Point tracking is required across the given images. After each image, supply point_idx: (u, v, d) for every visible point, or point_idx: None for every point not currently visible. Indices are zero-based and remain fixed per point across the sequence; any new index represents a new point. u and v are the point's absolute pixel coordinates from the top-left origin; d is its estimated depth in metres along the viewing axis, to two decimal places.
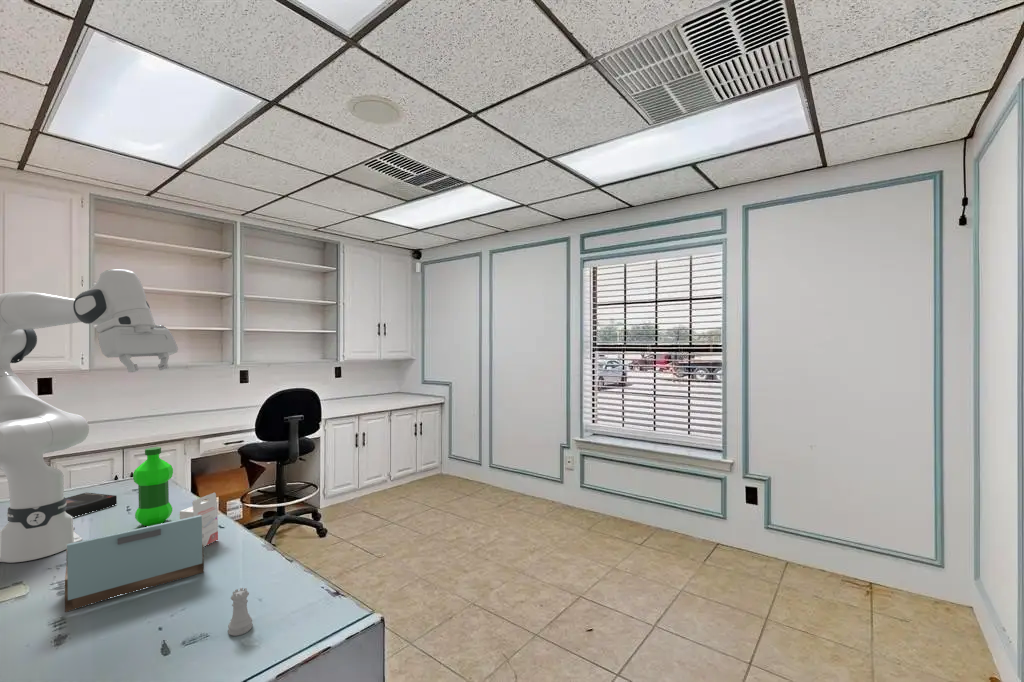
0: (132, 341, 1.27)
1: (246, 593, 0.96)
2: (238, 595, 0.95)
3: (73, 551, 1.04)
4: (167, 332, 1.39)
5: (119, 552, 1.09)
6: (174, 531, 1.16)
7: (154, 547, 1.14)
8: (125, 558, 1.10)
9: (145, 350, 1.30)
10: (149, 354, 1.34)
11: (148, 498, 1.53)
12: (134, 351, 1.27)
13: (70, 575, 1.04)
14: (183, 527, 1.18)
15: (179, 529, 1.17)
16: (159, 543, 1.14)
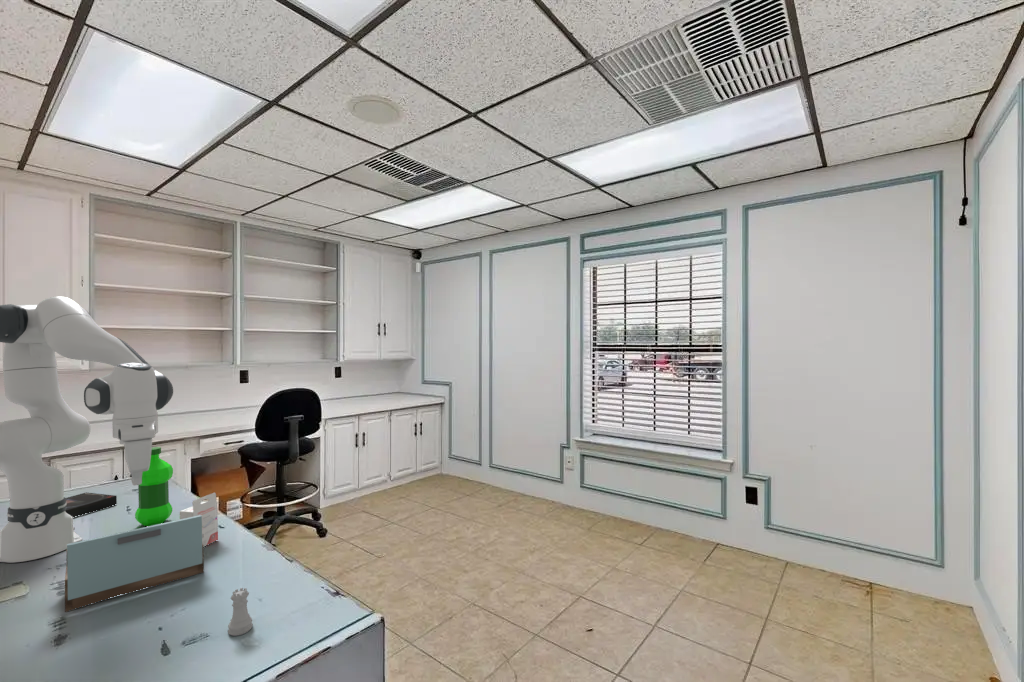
0: None
1: (246, 593, 0.96)
2: (238, 595, 0.95)
3: (73, 551, 1.04)
4: None
5: (119, 552, 1.09)
6: (174, 531, 1.16)
7: (154, 547, 1.14)
8: (125, 558, 1.10)
9: None
10: None
11: (148, 498, 1.53)
12: None
13: (70, 575, 1.04)
14: (183, 527, 1.18)
15: (179, 529, 1.17)
16: (159, 543, 1.14)
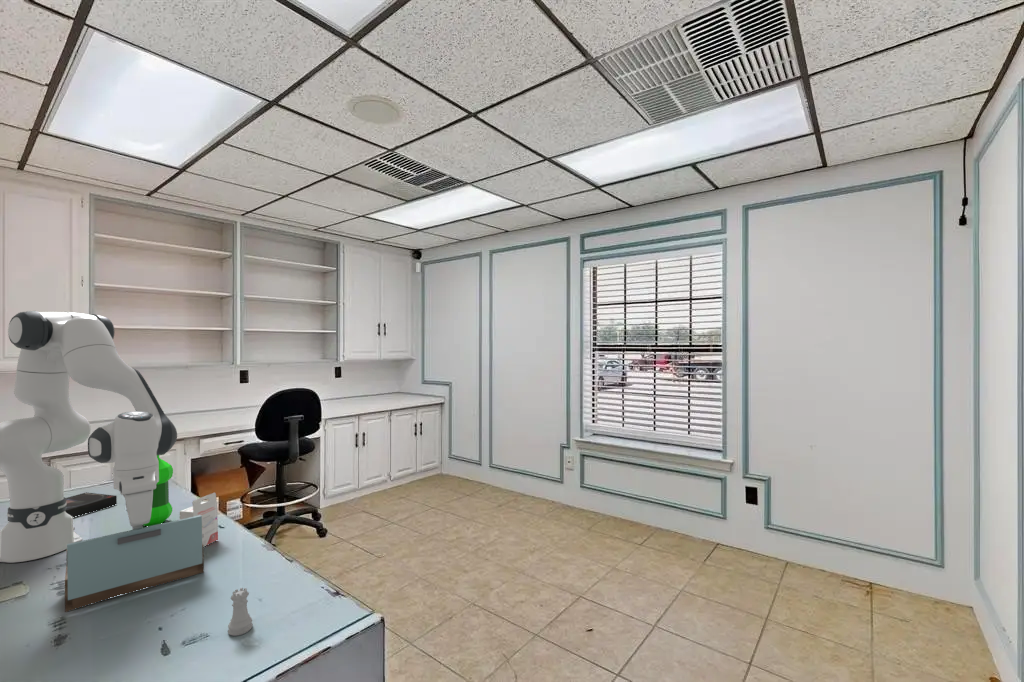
0: None
1: (246, 593, 0.96)
2: (238, 595, 0.95)
3: (73, 551, 1.04)
4: None
5: (119, 552, 1.09)
6: (174, 531, 1.16)
7: (154, 547, 1.14)
8: (125, 558, 1.10)
9: None
10: None
11: None
12: None
13: (70, 575, 1.04)
14: (183, 527, 1.18)
15: (179, 529, 1.17)
16: (159, 543, 1.14)
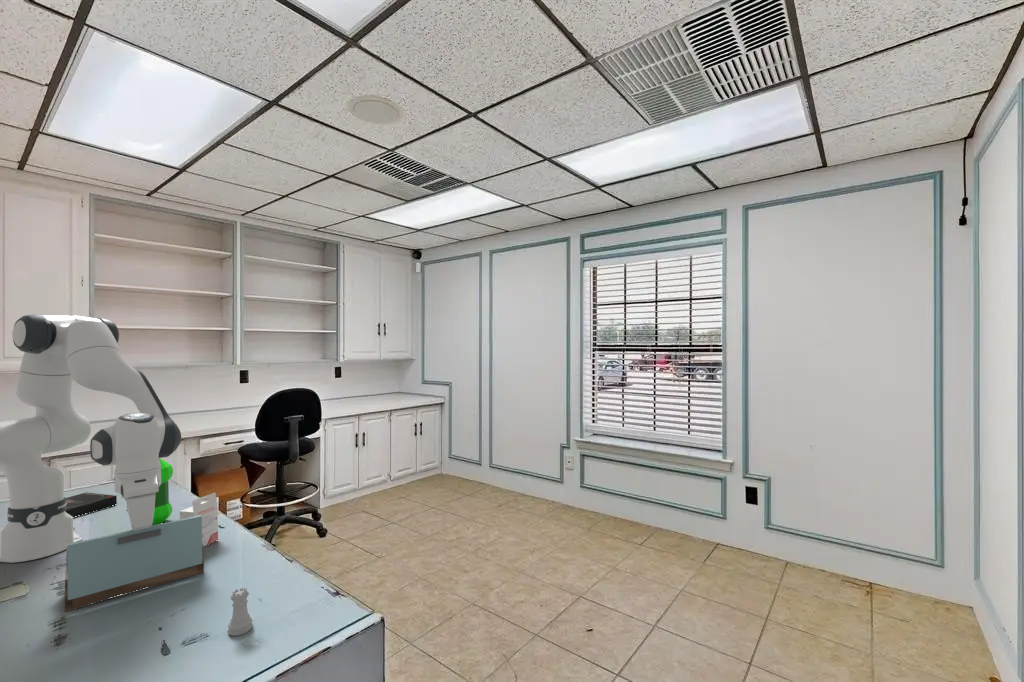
0: None
1: (246, 593, 0.96)
2: (238, 595, 0.95)
3: (73, 551, 1.04)
4: None
5: (119, 552, 1.09)
6: (174, 531, 1.16)
7: (154, 547, 1.14)
8: (125, 558, 1.10)
9: None
10: None
11: None
12: None
13: (70, 575, 1.04)
14: (183, 527, 1.18)
15: (179, 529, 1.17)
16: (159, 543, 1.14)
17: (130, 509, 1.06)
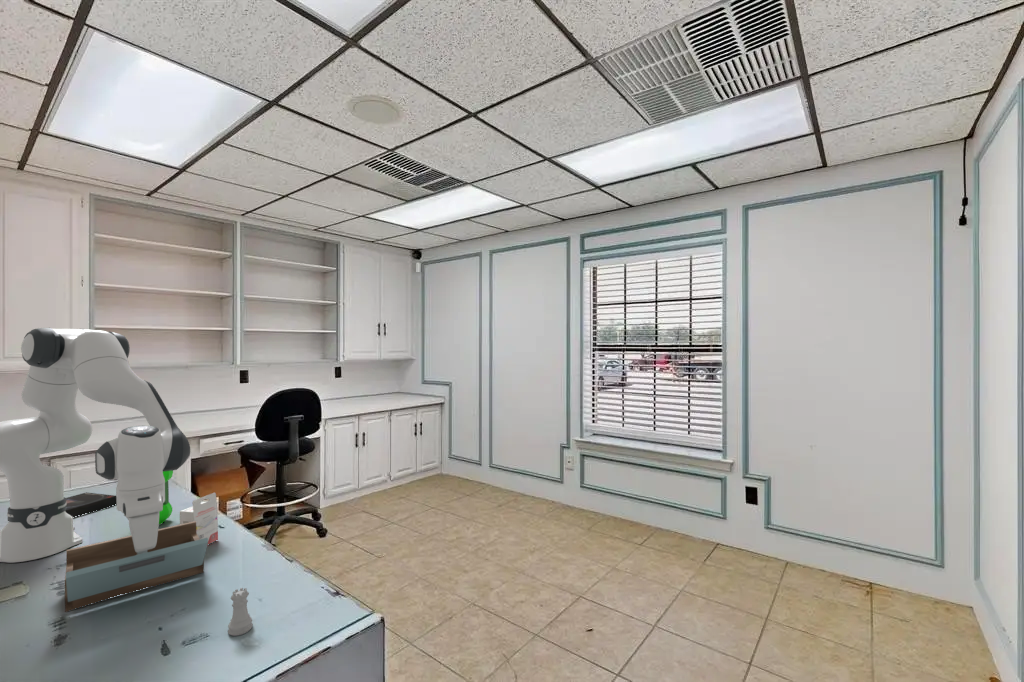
0: None
1: (246, 593, 0.96)
2: (238, 595, 0.95)
3: (72, 579, 0.99)
4: None
5: (120, 572, 1.05)
6: (178, 554, 1.11)
7: (156, 564, 1.10)
8: (126, 574, 1.07)
9: None
10: None
11: None
12: None
13: (69, 591, 1.01)
14: (188, 550, 1.12)
15: (183, 552, 1.12)
16: (162, 562, 1.10)
17: (133, 529, 1.00)
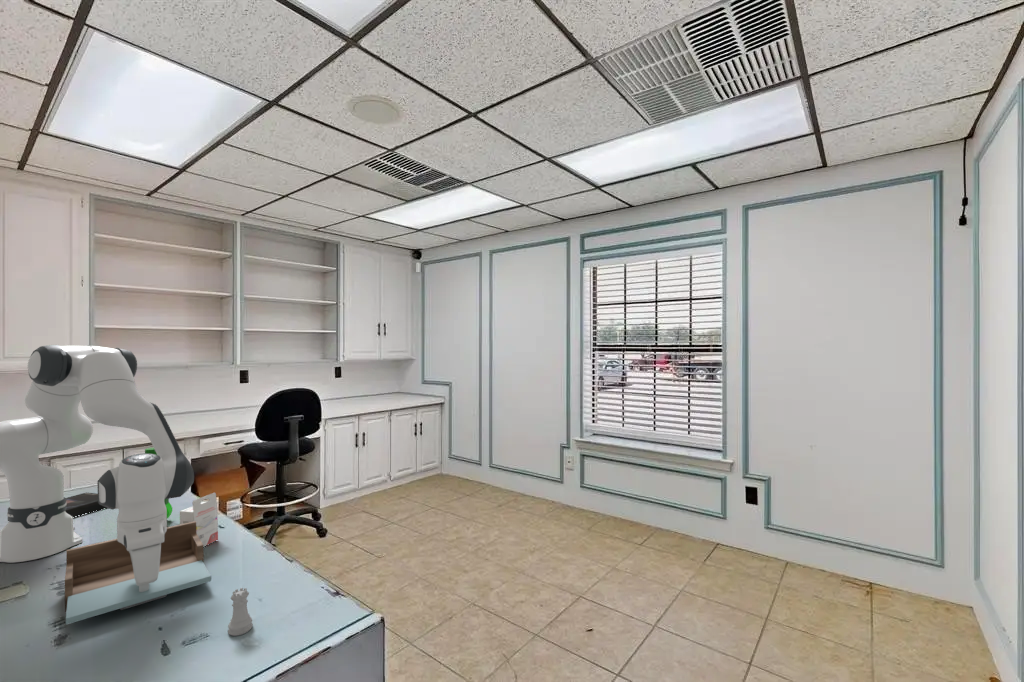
0: None
1: (246, 593, 0.96)
2: (238, 595, 0.95)
3: None
4: None
5: None
6: None
7: None
8: None
9: None
10: None
11: None
12: None
13: None
14: None
15: None
16: None
17: (134, 563, 0.98)
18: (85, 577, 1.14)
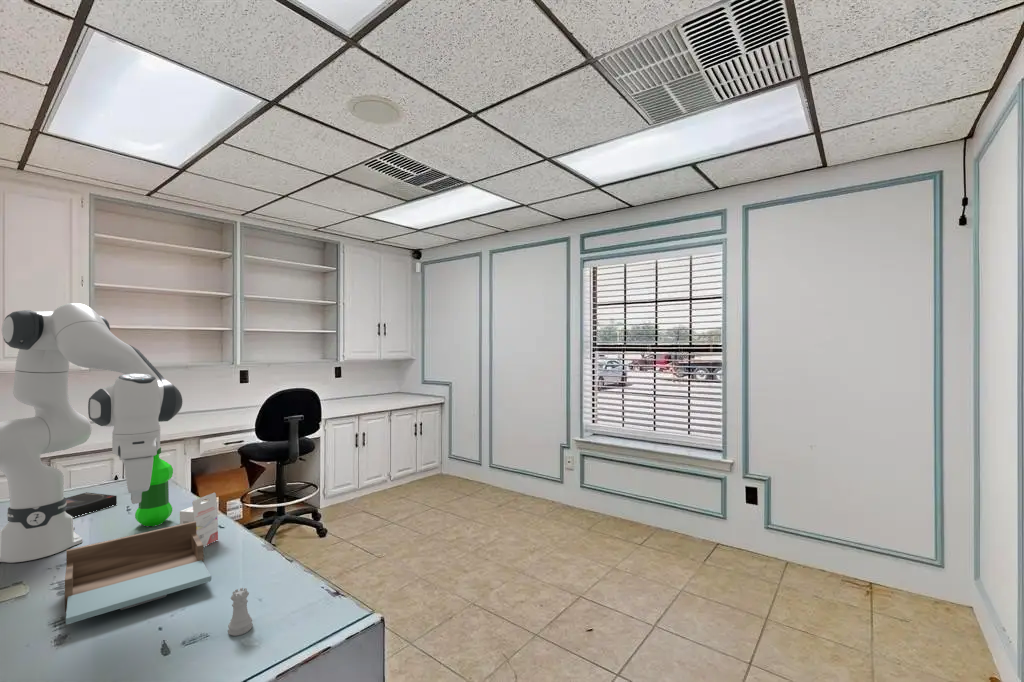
0: None
1: (246, 593, 0.96)
2: (238, 595, 0.95)
3: None
4: None
5: None
6: None
7: None
8: None
9: None
10: None
11: (148, 498, 1.53)
12: None
13: None
14: None
15: None
16: None
17: (127, 471, 1.02)
18: (85, 577, 1.14)
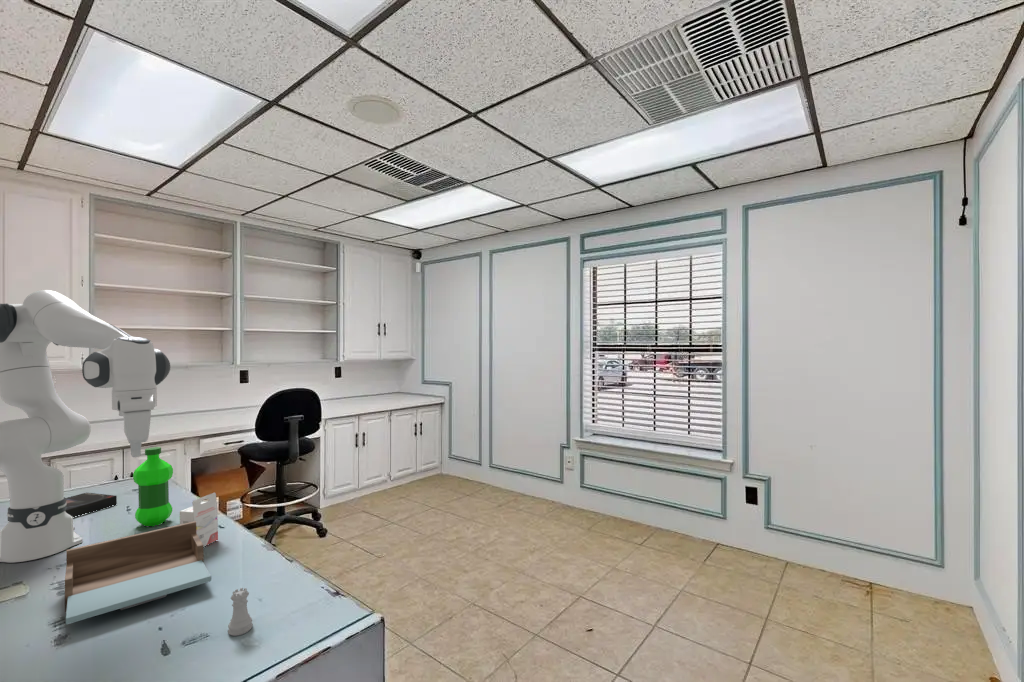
0: None
1: (246, 593, 0.96)
2: (238, 595, 0.95)
3: None
4: None
5: None
6: None
7: None
8: None
9: None
10: None
11: (148, 498, 1.53)
12: None
13: None
14: None
15: None
16: None
17: (126, 422, 1.10)
18: (85, 577, 1.14)
